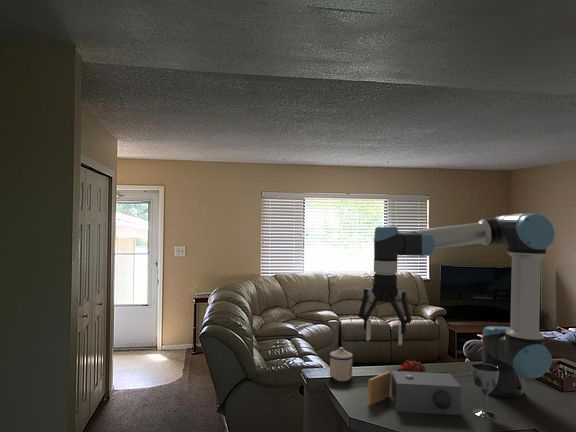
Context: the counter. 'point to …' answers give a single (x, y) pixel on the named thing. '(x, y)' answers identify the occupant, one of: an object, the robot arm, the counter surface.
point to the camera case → (425, 393)
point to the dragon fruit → (412, 366)
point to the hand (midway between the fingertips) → (384, 341)
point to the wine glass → (485, 385)
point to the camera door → (378, 388)
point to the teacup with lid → (341, 364)
